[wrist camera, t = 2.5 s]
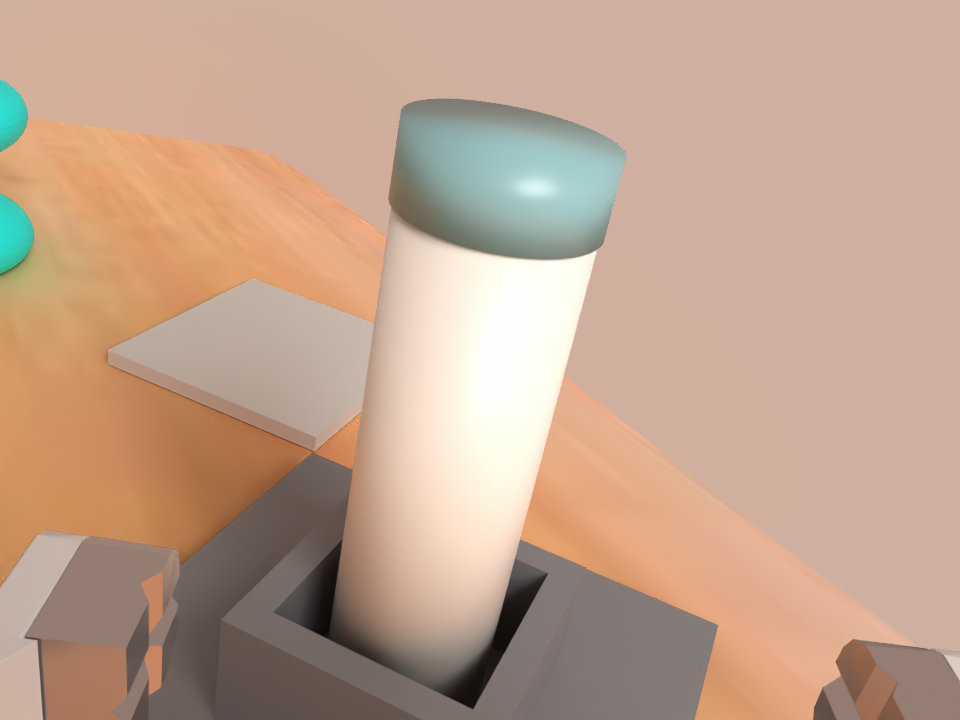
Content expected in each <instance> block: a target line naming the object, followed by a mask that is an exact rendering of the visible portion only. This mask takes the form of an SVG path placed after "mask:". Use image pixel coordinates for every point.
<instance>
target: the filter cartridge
mask: <svg viewBox="0 0 960 720" xmlns="http://www.w3.org/2000/svg"><path fill="white" fill-rule="evenodd" d="M625 160H626V154H625V151H624V150H623V149H622V148H621V147H620V146H619V145H618V144H617V143H615V142H614V141H612V140H611V139H609V138H607V137H605V136H604V135H602V134H600V133H598V132H595V131H593V130H591V129H589V128H586V127H584V126H581V125H578V124H576V123H573V122H570V121H567V120H564V119H561V118H557V117H554V116H551V115H547V114H543V113H539V112H536V111H531V110H527V109H522V108H518V107H513V106H508V105H501V104H496V103H489V102H482V101H473V100H461V99H427V100H420V101H415V102H412V103H409V104H407V105H405V106H404V107H403V108H402V109H401V115H400V121H399V128H398V135H397V142H396V149H395V156H394V163H393V170H392V177H391V184H390V191H389V203H390V205H391V213H390V220H389V227H388V234H387V241H386V247H385V254H384V261H383V268H382V275H381V282H380V288H379V295H378V302H377V309H376V316H375V322H374V329H373V336H372V343H371V350H370V357H369V363H368V370H367V377H366V384H365V391H364V398H363V404H362V411H361V418H360V425H359V432H358V439H357V445H356V452H355V459H354V466H353V473H352V479H351V486H350V493H349V500H348V507H347V514H346V520H345V527H344V534H343V541H342V548H341V555H340V561H339V568H338V575H337V582H336V589H335V595H334V602H333V609H332V616H331V623H330V630H329V636H328V639H329V640H331V641H333V642H335V643H337V644H339V645H341V646H343V647H345V648H347V649H350V650H352V651H354V652H356V653H358V654H360V655H362V656H364V657H366V658H368V659H370V660H372V661H374V662H376V663H378V664H380V665H382V666H385V667H387V668H389V669H391V670H393V671H395V672H397V673H399V674H401V675H403V676H405V677H407V678H409V679H411V680H413V681H415V682H417V683H420V684H422V685H424V686H426V687H428V688H430V689H432V690H434V691H436V692H438V693H440V694H442V695H444V696H446V697H448V698H450V699H452V700H455V701H457V702H459V703H461V704H463V705H465V706H467V707H469V708H471V709H474V707H475V705H476V703H477V699H478V696H479V692H480V688H481V684H482V681H483V677H484V673H485V669H486V666H487V662H488V658H489V654H490V651H491V647H492V643H493V639H494V635H495V632H496V628H497V624H498V620H499V617H500V613H501V609H502V605H503V602H504V598H505V594H506V590H507V587H508V583H509V579H510V575H511V572H512V568H513V564H514V560H515V557H516V553H517V549H518V545H519V541H520V538H521V534H522V530H523V526H524V523H525V519H526V515H527V511H528V508H529V504H530V500H531V496H532V493H533V489H534V485H535V481H536V478H537V474H538V470H539V466H540V463H541V459H542V455H543V451H544V447H545V444H546V440H547V436H548V432H549V429H550V425H551V421H552V417H553V414H554V410H555V406H556V402H557V399H558V395H559V391H560V387H561V384H562V380H563V376H564V372H565V369H566V365H567V361H568V357H569V353H570V350H571V346H572V342H573V338H574V335H575V331H576V327H577V323H578V319H579V316H580V312H581V308H582V305H583V301H584V297H585V293H586V289H587V285H588V282H589V278H590V275H591V271H592V267H593V263H594V259H595V255H596V252H597V249H599V248H600V247H601V246H602V244H603V242H604V238H605V235H606V231H607V227H608V224H609V220H610V216H611V213H612V208H613V205H614V201H615V198H616V194H617V190H618V186H619V183H620V179H621V175H622V171H623V168H624V164H625Z"/></svg>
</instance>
